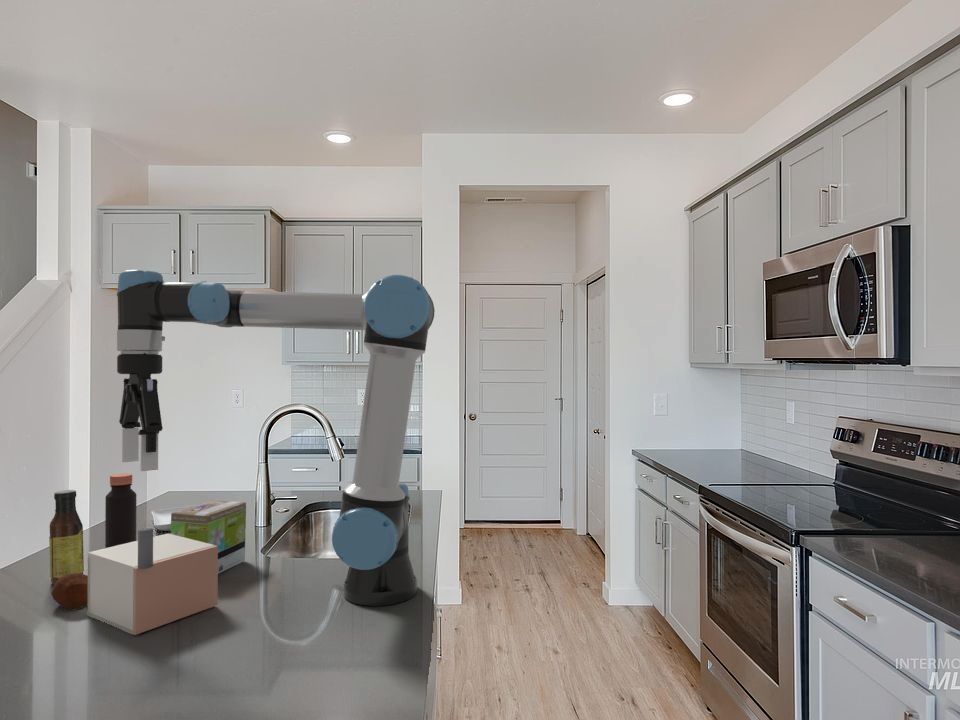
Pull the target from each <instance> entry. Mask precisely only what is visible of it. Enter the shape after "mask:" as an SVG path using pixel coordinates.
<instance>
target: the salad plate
mask: <svg viewBox="0 0 960 720" xmlns="http://www.w3.org/2000/svg"><path fill="white" fill-rule="evenodd" d="M196 505H197V504H195V505H192V504H191V505H185V506H178V507H170V508H164V509H163V508H162V509H154V510H151V513H150V514H151V515H152V517H153V526H154V527H155V528H156V529H157V530H159V531H165V532H171V513H173V512H176V511H180V510H183V509H186V508H189V507H192V506H196Z"/></svg>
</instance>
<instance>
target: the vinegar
mask: <svg viewBox="0 0 960 720" xmlns="http://www.w3.org/2000/svg"><path fill="white" fill-rule="evenodd" d="M132 485H133V473H116V474H112V475H109V487H110V488H111V489H110V491H109V492H108V493H107V494H106V495H105V502H104V503H105V506H104V507H105V512H104V513H105V515H104V516H105V525H104V527H105V529H104V531H105V534H104V535H105V540H104V541H105V543H104V546H105V548H109V547H113V546H117V545H121V544H126V543H130V542H134V541H137V493H136V492H135V491H134V489H132V487H131V486H132ZM105 548H104V549H105Z"/></svg>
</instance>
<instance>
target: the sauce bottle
mask: <svg viewBox="0 0 960 720" xmlns="http://www.w3.org/2000/svg"><path fill="white" fill-rule="evenodd" d="M53 494H54V496H53V499H54V501H55V510H54V512H55V513H54V516H53V517H52V519H51V521H50V522H49V537H48V538H49V539H48V542H49V546H48V547H49V578H50V582H51V583H50V584H52V585H53V586H54V584H55V582H56V581H57V580H58V579H60V578H61V577H63V576H65V575H69V574H76V573H81V574H84V571H85V563H84V562H85V561H84V559H85V558H84V527H83V526H84V525H83V523H82V520H81V518H80V516H79V514H78V511H77V507H76V505H77V504H76V497H77V490H75V489H68V490H67V489H65V490H64V489H63V490H60V491H55V492H54V493H53Z"/></svg>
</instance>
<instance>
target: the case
mask: <svg viewBox="0 0 960 720" xmlns="http://www.w3.org/2000/svg"><path fill="white" fill-rule="evenodd" d="M212 546H215V545H212V544H208V543H204V542H200V541H196V540H192V539H188V538H184V537H180V536H176V535H172V534H171V533H165V534H159V535H156V536H153V562H157V561H160V560H164V559H168V558H171V557H175V556H179V555H182V554H186V553H190V552H193V551H197V550H201V549H204V548H208V547H212ZM135 567H138V540H136V541H134V542H130V543H126V544H121V545H117V546H113V547H109V548H102V549H101V548H100V549H97V550H93V551H88V552H87V576H88V604H87V617H90V618H93V619H94V618H95V620H97V621H99V620H100V621H99V622H101V623H104V622H105V623H104V624H106V623H107V625H109V624H110V625H109V626H111V625H112V626H111V627H113V626H115V627H114V628H116V627H117V628H116V629H118V628H119V629H118V630H120V629H121V631H123V632H125V633H128V634H130V635H133V636H134V634H133V568H135Z"/></svg>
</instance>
